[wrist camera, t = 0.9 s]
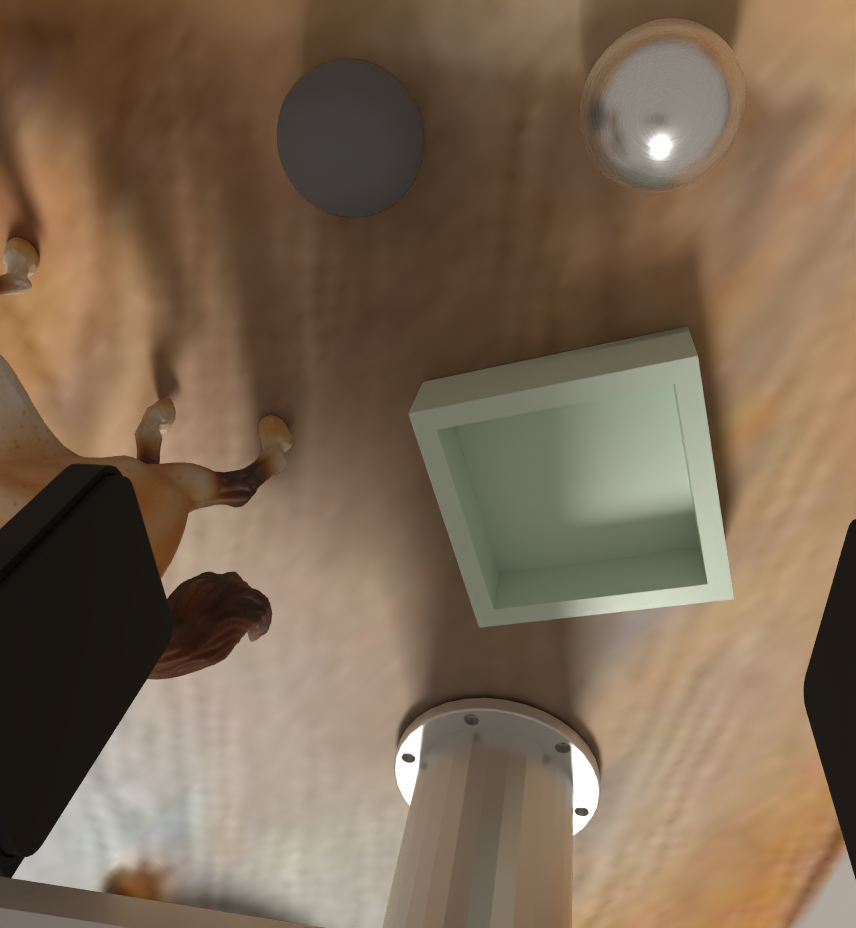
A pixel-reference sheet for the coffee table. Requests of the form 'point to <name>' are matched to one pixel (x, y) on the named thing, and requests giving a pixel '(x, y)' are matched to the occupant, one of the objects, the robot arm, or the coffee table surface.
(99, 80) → the coffee table surface
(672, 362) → the tray
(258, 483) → the horse figurine
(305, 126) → the rubber ball
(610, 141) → the steel ball
